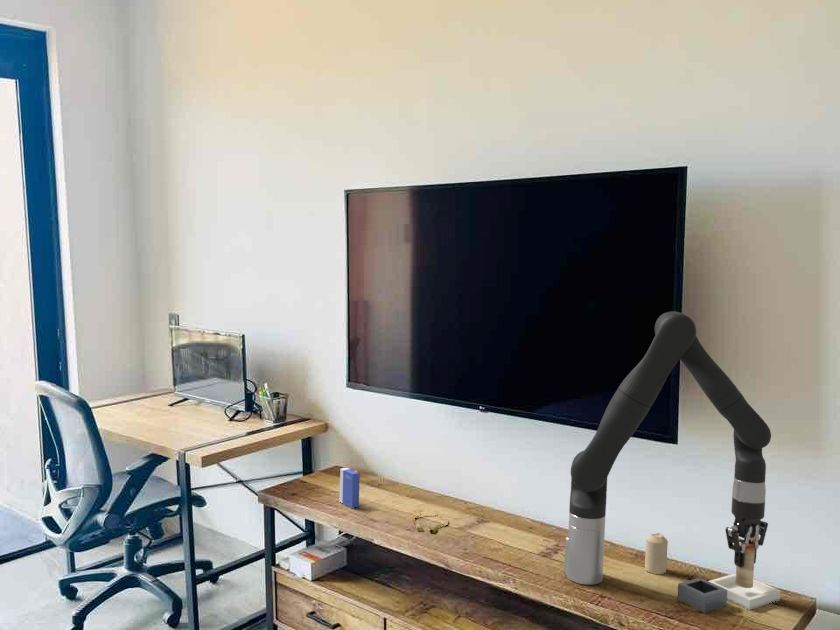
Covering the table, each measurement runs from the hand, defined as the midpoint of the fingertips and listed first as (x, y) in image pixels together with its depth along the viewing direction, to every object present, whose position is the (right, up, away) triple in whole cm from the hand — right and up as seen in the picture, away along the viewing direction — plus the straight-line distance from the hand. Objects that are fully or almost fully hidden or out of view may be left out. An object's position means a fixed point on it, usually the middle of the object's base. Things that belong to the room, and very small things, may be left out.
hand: (744, 564), depth 182 cm
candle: (-18, -7, +15) cm, 24 cm away
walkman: (-105, -2, +62) cm, 122 cm away
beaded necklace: (-79, -4, +46) cm, 91 cm away
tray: (0, -8, +1) cm, 8 cm away
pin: (0, -5, 0) cm, 5 cm away
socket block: (-13, -8, -4) cm, 15 cm away
